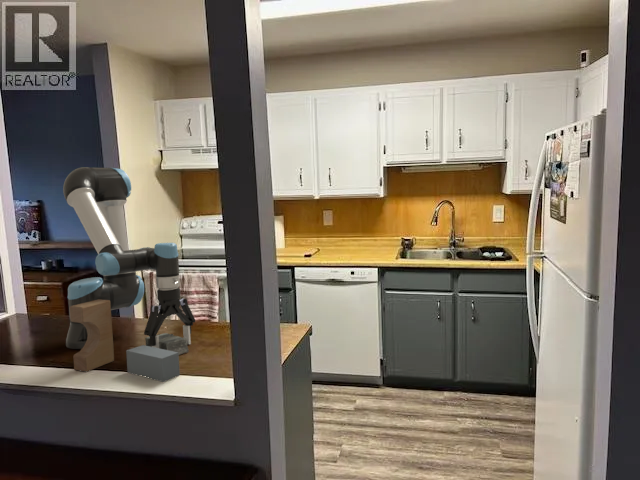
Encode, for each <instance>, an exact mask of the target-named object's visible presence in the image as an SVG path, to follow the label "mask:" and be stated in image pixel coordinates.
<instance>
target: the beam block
mask: <svg viewBox="0 0 640 480" xmlns="http://www.w3.org/2000/svg"><path fill="white" fill-rule="evenodd" d="M125 352H126V367H127V368H126V369H127V373H129V374H133V375H135V374H137V376H139V375H142V376H141V377H143V376H146V377H149V378H148V379H150V378H152V379H151V380H154V379H155V381H159V382H162V383H164V382H166V381H170V380H171V379H174V378H176V377H179V376H180V375H181V373H180V372H181V371H180V355H179V353H178V352H174V351H169V350H164V349H159V348H155V347H150V346H146V344H143V345H139V346H135V347H132V348H129V349H127V350H125ZM146 377H145V378H146Z"/></svg>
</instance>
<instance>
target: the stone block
mask: <svg viewBox="0 0 640 480" xmlns="http://www.w3.org/2000/svg"><path fill="white" fill-rule="evenodd" d="M157 335H158V336H159V349H164V350H169V351H174V352H178V353H179V356H180V355H183V354H187V353H189V351H190V349H189V347H188V344H187V339H186V338H184V337H182V336H178V335H175V334H174V333H167V332H165V333H161V334H157ZM144 339H145V346H150V347H152V346H151V345H150V336H146V337H145V338H144Z"/></svg>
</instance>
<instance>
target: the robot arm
mask: <svg viewBox="0 0 640 480" xmlns="http://www.w3.org/2000/svg"><path fill="white" fill-rule="evenodd" d="M62 188H63V189H62V191H63V193H62V194H63V195H64V196H63V197H64V199H65V201H66V203H67V204H68V206H70V208H71V207H72V208H73V209H74V212H75V213H76V215H77V218H78V219H79V221H80V223H81V224H82V226H83V229H84V231H85V233H86V234H87V236H88V238H89V240H90V242H91V243H92V245H93V247H94V249H95V251H96V252H97V253H96V254H97V255H96V257H95V263H94V264H95V266H96V268H95V269H96V271H97V272H98V274H100V276H103V278H102V277H100V276H99V277H98V276H97V277H96V276H95V277H94V276H93V277H87V278H83V279H79V280H75V281H73V282H72V283H70V284H69V285H68V287H67V303H68V315H69V316H68V317H70V306H73V305H77V304H82V303H86V302H90V301H94V300H98V299H100V300H110V305H111V311H113V310H119V309H124V308H130V307H133V306H136V305H138V304H139V303H140V302H141V301H142V299H143V297H144V294H145V283H144V281H143V278H142V276H140V275H138V274H137V273H136V272H141V271H149V270H153V271H155V273H156V274H155V277H156V288H157V290H156V295H157V296H156V297H157V301H158V305H151V306H150V313H149V315H148V318H147V323H146V325H145V328H144V332H143V335H144V336H147V337H150V345H151V346H152V347H155V348H159V336H158V335H159V334H158V333H159V331H160V329H161V327H162V325H163V323H164V321H165V320H166V319H167V318H168V317H171V316H172V315H176V316H177V317H178V319H179V320H180V321H181V322H182V323H183V325H182V333H183V337H182V338H186V339H187V345H192V341H191V334H192V326H193V325H194V323H195V322H196V318H195V317H194V314H193V312H192V310H191V308H190V306H189V303H188V299H187V298H182V297H181V288H180V286H181V283H180V265H179V264H180V263H179V255H180V254H179V252H178V245H177V243H176V242H161V243H160V242H159V243H156V244H155V245H154V247H149V246H147V247H141V248H138V249H137V248H136V249H129V241H128V235H127V227H126V217H125V210H124V206H125V204H126V203H127V198H129V197H130V196H131V193H132V192H131V191H132V182H131V179H130V177H129V175H128V174H127V172H126V171H125V170H124V169H122V168H116V167H115V168H114V167H88V166H86V167H82V166H81V167H78V168H76V169H73V170H72V171H71V172H70V173H69V174H68V175H67V176H66V178H65V180H64V183H63V187H62ZM180 307H181V308H180ZM87 336H88V333H87V329H86V327H85V326H84V325H83V324H81V323H78V322H71V319H70V318H69V328H68V330H67V334H66V338H65V346H66V347H65V348H67V349H71V350H81V349H82V348H83V347H84V345H85V343H86V341H87Z"/></svg>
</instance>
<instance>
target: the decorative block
mask: <svg viewBox="0 0 640 480" xmlns="http://www.w3.org/2000/svg"><path fill="white" fill-rule="evenodd" d="M70 319H71V322H78V323H81V324H83V325H84V326H85V327H86V329H87V333H88V336H87V341H86V343H85V345H84V347H83V348H82V349H79V350H80V351H78V352H76V353H75V354H73V357H72V358H73V369H74V370H75V371H78V370H81V371H80V372H84V371H87V372H89V370H90V371H93V370H95V369H98V368H100V367H102V366H105V365H107V364H110V363H113V362H114V361H115V351H114V338H113V335H114V334H113V325H112V324H113V323H112V322H113V321H112V320H113V319H112V310H111V305H110V300H100V299H98V300H94V301H90V302H86V303H82V304H77V305H73V306H70V316H69V320H70Z"/></svg>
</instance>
